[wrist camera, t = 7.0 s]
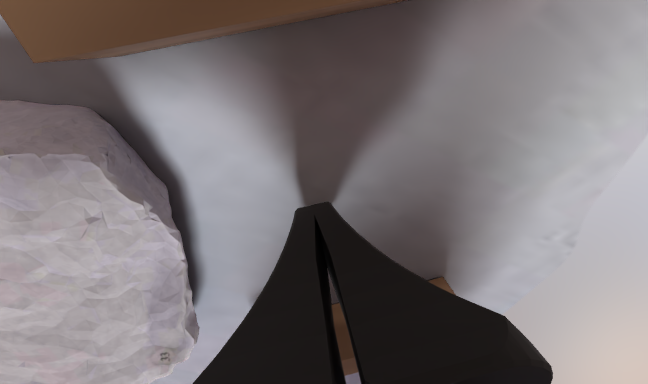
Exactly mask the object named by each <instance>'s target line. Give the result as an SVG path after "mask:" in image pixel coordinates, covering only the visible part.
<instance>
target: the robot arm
mask: <svg viewBox="0 0 648 384" xmlns="http://www.w3.org/2000/svg"><path fill="white" fill-rule="evenodd" d="M327 268H328V270H327ZM328 271H329V274H330V277H331V280H332V283H333V286H334V289H335V292H336V295H337V298H338V301H339V304H340V306H341V309H342V312H343V315H344V318H345V322H346V325H347V329H348V332H349V336H350V340H351V344H352V348H353V353H354V357H355V361H356V365H357V369H358V372H357V373H354V374H350V375H346V376H345V375H344V371H343V366H342V361H341V356H340V352H339V347H338V342H337V337H336V332H335V326H334V319H333V311H332V303H331V294H330V286H329V278H328ZM552 379H553V372H552V368H551V366H550V364H549V363H548V362H547V361H546V360H545V358H544V357H543V356H542V355H541V354H540V353H539V351H538V350H537V349H536V348H535V347H534V346H533V344H532V343H531V342H530V341H529V340H528V339H527V338H526V337H525V336H524V335H523V334H522V333H521V332H520V331H519V330H518V329H517V328H516V327H515V326H514V325H513V324H512V323H511V322H510V321H509V320H508V319H507V318H506V317H505V316H503V315H501V314H498V313H496V312H494V311H491V310H489V309H487V308H484V307H482V306H479V305H477V304H475V303H472V302H470V301H467V300H465V299H463V298H460V297H458V296H456V295H454V294H452V293H450V292H448V291H446V290H444V289H442V288H440V287H437V286H436V285H434V284H432V283H430V282H428V281H427V280H425V279H423V278H421V277H419V276H418V275H416V274H414V273H412V272H411V271H409V270H407V269H405V268H404V267H402V266H401V265H399V264H398V263H396V262H395V261H393V260H391V259H390V258H389V257H387V256H386V255H384V254H383V253H382V252H380V251H379V250H378V249H376V248H375V247H374V246H372V245H371V244H370V243H369V242H368V241H366V240H365V239H364V238H363V237H362V236H360V235H359V234H358V233H357V232H356V231H355V230H354V229H353V228H352V227H351V226H350V225H349V224H348V223H347V222H346V221H345V220H344V219H343V218H342V217H341V216H340V215H339V213H338V212H337V211H336V210H335V208H334V207H333V206H332V204H331V203H330V202H324V203H319V204H315V205H311V206H307V207H303V208H298V209H297V210H296V211H295V215H294V219H293V223H292V226H291V230H290V233H289V235H288V238H287V241H286V243H285V246H284V249H283V251H282V253H281V255H280V258H279V260H278V262H277V264H276V266H275V268H274V270H273V272H272V274H271V276H270V278H269V280H268V282H267V284H266V285H265V287H264V289H263V291H262V292H261V294H260V295H259V297H258V299H257V300H256V302H255V303H254V305H253V307H252V308H251V310H250V311H249V313H248V314H247V316H246V317H245V318H244V320H243V321H242V323H241V324H240V325H239V327H238V328H237V329H236V331H235V332H234V333H233V335H232V336H231V337H230V339H229V340H228V341H227V343H226V344H225V345H224V347H223V348H222V349H221V351H220V352H219V353H218V354H217V356H216V357H215V358H214V359H213V361H212V362H211V363H210V364H209V365H208V366H207V368H206V369H205V370H204V371H203V372H202V373H201V374H200V376H199V377H198V378H197V379H196V380H195V381H194V383H193V384H551V381H552Z"/></svg>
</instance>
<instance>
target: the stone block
mask: <svg viewBox="0 0 648 384" xmlns="http://www.w3.org/2000/svg"><path fill="white" fill-rule="evenodd" d="M171 210H172V209H171V207H170V204H169V194H168V191H167V187H166V185H165V184H164V183H163V182H162V181H161V180H160V179H159V178H158V177H156V176H155V175H154V173H153V172H152V171H151V170H150V169H149V168H148V166H147V165H146V164H145V162H144V161H143V160H142V159H141V158H140V156H139V155H138V154H137V153H136V152H135V150H134V149H133V148H132V147H131V146H130V145H129V144H128V143H127V142H126V141H125V140H124V139H123V138H122V136H121V135H120V134H119V132H118V131H117V130H116V129H114V128H113V127H112V126H111V125H110V124H109V123H108V122H107V121H106V120H104V119H103V118H102V117H101V116H100V115H99V114H97V113H96V112H95V111H93V110H91V109H90V108H88V107H79V106H74V105H50V104H40V103H32V102H26V101H21V100H13V101H7V100H0V384H148V383H150V382H152V381H154V380H156V379H159V378H162V377H165V376H168V375H170V374H172V372H173V369H174V366H175V365H176V364H179V363H181V362H184V361H186V360H187V359H188V358H189V356H190V354H191V351H192V349H193V348H194V346H195V344H196V343H197V339H198V335H199V326H198V323H197V319H196V313H195V311H194V306H193V303H192V291H191V288H190V285H189V279H188V272H187V268H188V264H187V260H186V256H185V253H184V250H183V244H182V238H181V234H180V231H179V230H178V229H177V228H176V226H175V224H174V222H173V219H172V217H171Z"/></svg>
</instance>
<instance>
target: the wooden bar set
mask: <svg viewBox="0 0 648 384" xmlns="http://www.w3.org/2000/svg"><path fill="white" fill-rule="evenodd" d="M403 1H408V0H0V14H1V16H2V17H3V19H4V20H5V22H6V23H7V25H8V26H9V27H10V29H11V30H12V32H13V33H14V35H15V36H16V38H17V39H18V41H19V42H20V44H21V45H22V47H23V48H24V49H25V51H26V52H27V54H28V55H29V57H30V58H31V60H32V61H33V63H42V62H55V61H67V60H80V59H93V58H106V57H118V56H123V55H128V54H134V53H139V52H144V51H149V50H154V49H160V48H165V47H170V46H175V45H180V44H185V43H191V42H196V41H201V40H206V39H211V38H216V37H222V36H227V35H232V34H237V33H242V32H248V31H253V30H258V29H263V28H268V27H273V26H279V25H284V24H289V23H294V22H299V21H304V20H310V19H315V18H320V17H325V16H330V15H336V14H341V13H346V12H351V11H356V10H361V9H367V8H372V7H377V6H382V5H387V4H392V3H398V2H403ZM428 282H430V283H432V284H434V285H436V286H437V287H440V288H442V289H444V290H446V291H448V292H450V293H452V294H454V295H455V293H454V292H453V290H452V289H451V288H450V286H449V285H448V283H447V282H446V280H445V279H444V278H443V277H440V278H436V279H432V280H428ZM332 311H333V319H334V326H335V332H336V337H337V342H338V347H339V352H340V356H341V361H342V366H343V371H344V375H345V376H346V375H350V374H354V373H357V372H358V369H357V365H356V361H355V357H354V353H353V348H352V344H351V340H350V336H349V332H348V329H347V325H346V322H345V318H344V315H343V312H342V309H341V306H340V304H339V303H337V304H333V305H332Z"/></svg>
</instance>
